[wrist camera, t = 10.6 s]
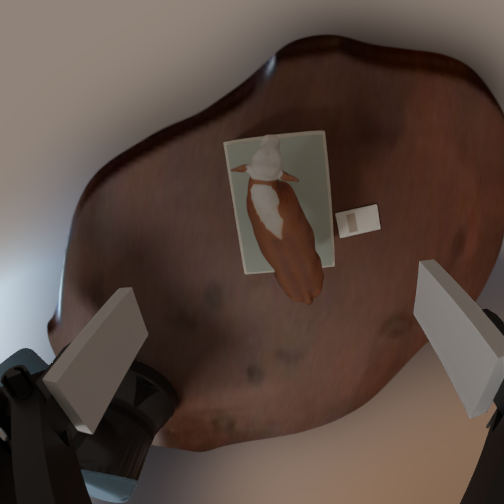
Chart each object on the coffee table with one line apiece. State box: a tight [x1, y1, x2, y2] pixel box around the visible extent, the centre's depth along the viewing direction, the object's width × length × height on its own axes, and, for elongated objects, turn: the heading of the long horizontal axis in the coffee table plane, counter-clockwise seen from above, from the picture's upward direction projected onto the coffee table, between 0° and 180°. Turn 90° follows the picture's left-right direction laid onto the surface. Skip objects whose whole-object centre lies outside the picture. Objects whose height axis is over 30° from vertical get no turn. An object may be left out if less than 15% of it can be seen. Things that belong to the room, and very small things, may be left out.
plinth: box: [223, 130, 335, 274], centre depth 31 cm, size 9×13×6 cm
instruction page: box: [335, 204, 381, 238], centre depth 34 cm, size 5×3×1 cm, turn 106°
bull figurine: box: [230, 135, 324, 305], centre depth 24 cm, size 4×14×8 cm, turn 18°
